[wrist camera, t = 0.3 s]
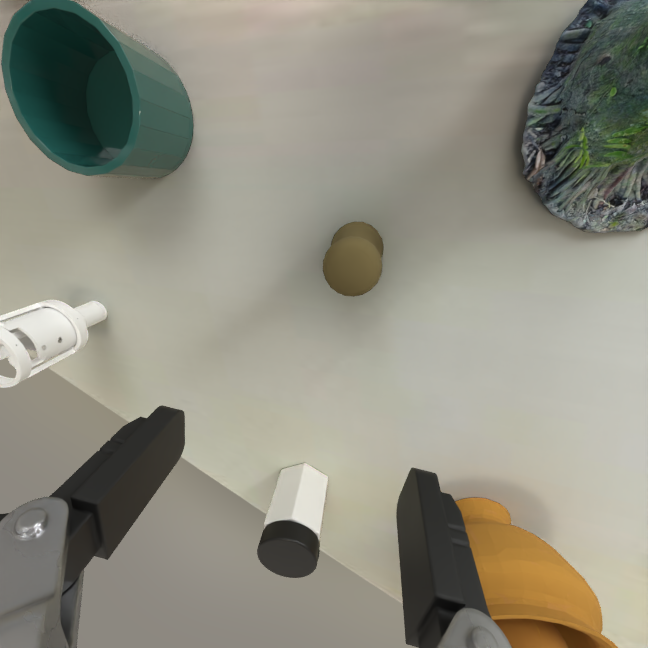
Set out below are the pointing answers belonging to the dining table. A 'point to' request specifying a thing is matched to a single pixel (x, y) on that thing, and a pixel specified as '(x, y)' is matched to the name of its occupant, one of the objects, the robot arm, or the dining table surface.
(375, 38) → the dining table surface
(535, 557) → the decorative bowl
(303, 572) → the jar
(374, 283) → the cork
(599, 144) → the tree stump
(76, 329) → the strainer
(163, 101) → the ceramic cup
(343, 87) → the dining table surface
